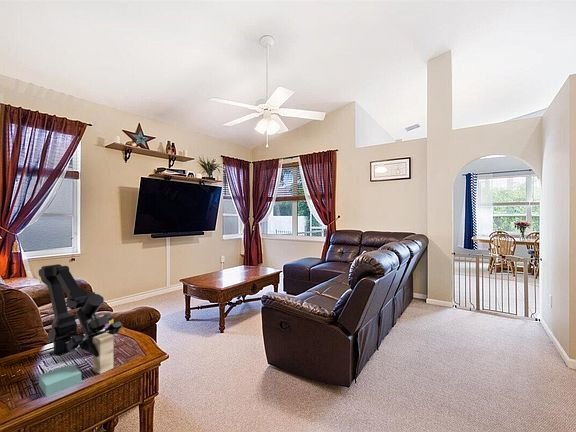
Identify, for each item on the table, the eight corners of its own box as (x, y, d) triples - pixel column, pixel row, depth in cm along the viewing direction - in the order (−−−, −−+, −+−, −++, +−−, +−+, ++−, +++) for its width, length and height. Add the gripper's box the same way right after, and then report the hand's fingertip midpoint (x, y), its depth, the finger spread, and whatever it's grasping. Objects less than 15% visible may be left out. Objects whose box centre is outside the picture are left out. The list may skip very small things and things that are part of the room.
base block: (46, 397, 98) (46, 385, 98) (39, 386, 104) (38, 375, 104) (81, 383, 106) (81, 372, 105) (72, 373, 112) (72, 363, 112)
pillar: (92, 370, 113) (92, 337, 113) (105, 364, 118) (106, 332, 118) (100, 373, 111) (100, 339, 111) (113, 367, 116) (113, 335, 115)
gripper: (70, 315, 108) (87, 352, 103) (119, 302, 124) (136, 332, 119) (59, 332, 111) (75, 368, 106) (108, 317, 128) (124, 347, 123)
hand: (105, 353), depth 114 cm, fingers closed on pillar, 5 cm apart
